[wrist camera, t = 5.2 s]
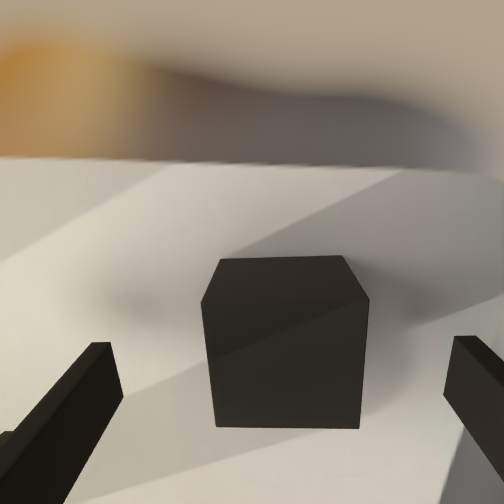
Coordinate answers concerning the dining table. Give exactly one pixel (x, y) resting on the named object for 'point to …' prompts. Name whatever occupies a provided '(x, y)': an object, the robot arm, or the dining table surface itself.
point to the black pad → (286, 342)
